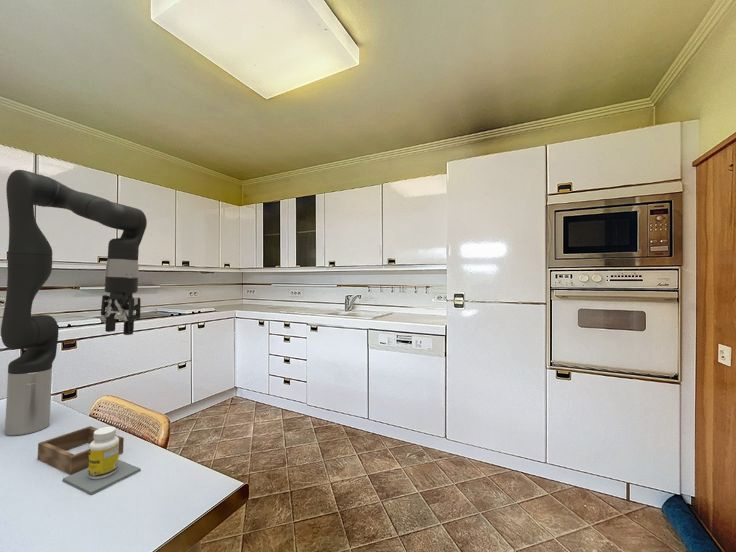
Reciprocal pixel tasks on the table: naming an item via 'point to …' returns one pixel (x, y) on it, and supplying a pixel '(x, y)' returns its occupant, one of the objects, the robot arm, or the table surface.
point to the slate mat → (96, 485)
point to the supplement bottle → (103, 453)
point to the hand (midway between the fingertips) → (119, 333)
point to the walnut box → (57, 448)
